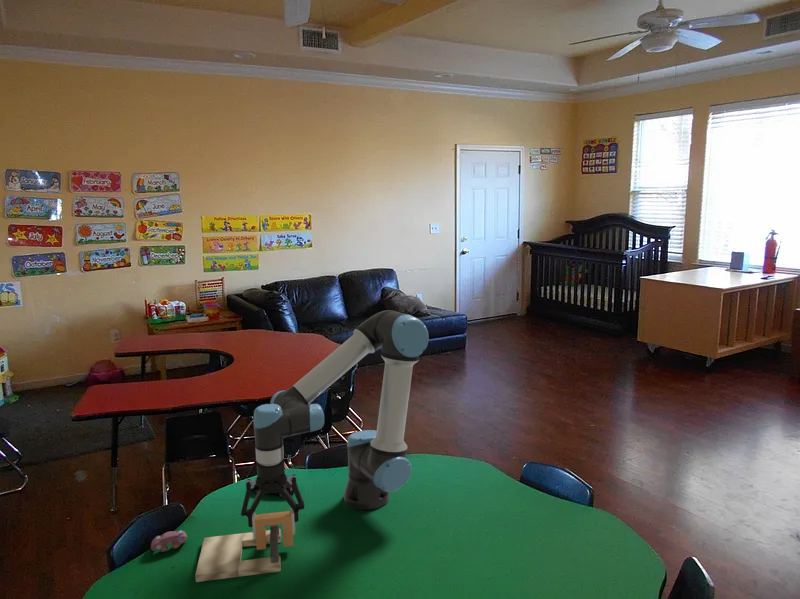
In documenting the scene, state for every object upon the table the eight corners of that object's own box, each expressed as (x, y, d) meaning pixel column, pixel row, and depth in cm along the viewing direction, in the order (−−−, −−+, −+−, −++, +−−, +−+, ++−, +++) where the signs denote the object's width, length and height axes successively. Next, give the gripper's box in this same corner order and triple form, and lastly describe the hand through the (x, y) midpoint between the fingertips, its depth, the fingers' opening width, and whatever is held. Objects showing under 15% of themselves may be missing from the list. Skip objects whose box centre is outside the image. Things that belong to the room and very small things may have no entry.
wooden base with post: (281, 534, 178) (279, 510, 177) (280, 571, 161) (279, 544, 159) (204, 544, 174) (202, 518, 173) (195, 582, 157) (193, 554, 155)
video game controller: (152, 560, 170) (151, 545, 166) (150, 546, 173) (149, 531, 169) (188, 550, 174) (188, 535, 170) (185, 536, 177) (185, 522, 174)
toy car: (257, 486, 209) (256, 472, 209) (298, 490, 206) (298, 477, 205) (248, 495, 203) (247, 481, 202) (290, 499, 199) (290, 486, 198)
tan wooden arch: (292, 539, 171) (291, 510, 170) (293, 545, 168) (291, 516, 167) (257, 543, 169) (255, 514, 168) (256, 550, 166) (254, 520, 165)
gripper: (310, 450, 170) (314, 522, 174) (229, 458, 166) (234, 531, 170) (312, 462, 163) (315, 536, 167) (226, 470, 159) (232, 546, 163)
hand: (274, 534), depth 168 cm, fingers closed on tan wooden arch, 10 cm apart
